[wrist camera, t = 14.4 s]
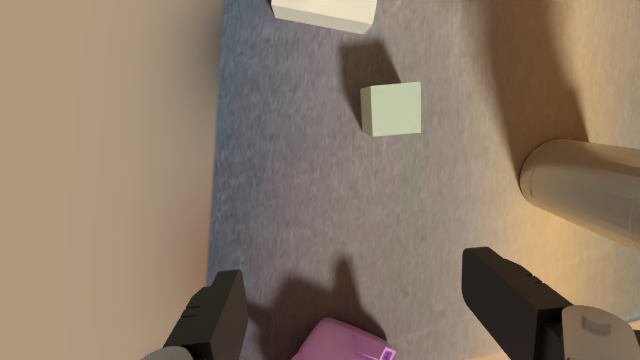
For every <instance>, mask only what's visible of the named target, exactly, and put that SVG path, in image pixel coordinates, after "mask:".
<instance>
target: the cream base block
mask: <svg viewBox="0 0 640 360" xmlns="http://www.w3.org/2000/svg"><path fill="white" fill-rule="evenodd" d="M376 3H377V0H272V2H271V6H272V9H273V12H274V15H275V18H280V19H285V20H291V21H296V22H301V23H307V24H312V25H317V26H322V27H328V28H333V29H338V30H344V31H349V32H354V33H359V34H364V33H365V32H366V31H367V30H368V29H369V28H370V27H371V26H372V24H373V20H374V14H375V9H376Z"/></svg>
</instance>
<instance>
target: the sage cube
mask: <svg viewBox="0 0 640 360" xmlns="http://www.w3.org/2000/svg"><path fill="white" fill-rule="evenodd" d="M360 96H361V115H362V132H364V133H366V134H368V135H370V136H373V137H374V136H385V135H396V134H407V133H418V132H421V95H420V82H412V83H401V84H389V85H377V86H369V87H365V88H361V89H360Z"/></svg>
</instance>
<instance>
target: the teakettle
mask: <svg viewBox="0 0 640 360" xmlns="http://www.w3.org/2000/svg"><path fill="white" fill-rule="evenodd" d="M395 353H396V350H395V349H393V348H391V346H390V345H389V344H388V343H387V342H386V341H385V340H383V339H381V338H380V337H378V336H375V335H373V334H371V333H369V332H367V331H364V330H362V329H360V328H357V327H355V326H352V325H350V324H347V323H344V322H342V321H339V320H336V319H333V318H329V317H325V318H323V319H322V320H320V321H319V322H318V324H317V325H316V326H315V327H314V329H313V330H312V331H311V333H310V334H309V335H308V337H307V338H306V340H305V341H304V343H303V344H302V346H301V347H300V349H299V351H298V353H297V354H296V355H295V356H294V357H293V358H292V359H291V360H397V358H396V356H395Z"/></svg>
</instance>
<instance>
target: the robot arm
mask: <svg viewBox="0 0 640 360" xmlns="http://www.w3.org/2000/svg"><path fill="white" fill-rule="evenodd" d="M520 187H521V191H522V193H523V195H524V197H525V198H526V199H527V200H528V201H529V202H530V203H531V204H533V205H534V206H536V207H538V208H541V209H543V210H545V211H547V212H550V213H552V214H554V215H556V216H558V217H561V218H563V219H565V220H567V221H570V222H572V223H574V224H576V225H579V226H581V227H583V228H585V229H588V230H590V231H592V232H594V233H597V234H599V235H601V236H603V237H606V238H608V239H610V240H612V241H615V242H617V243H619V244H621V245H624V246H626V247H628V248H630V249H633V250H635V251H637V252H640V149H634V148H627V147H619V146H612V145H605V144H597V143H591V142H583V141H576V140H568V139H555V140H551V141H548V142H546V143H544V144H542V145H540V146H539V147H537V148H536V149H535V150H533V152H532V153H531V154H530V155H529V156H528V157H527V159H526V161H525V162H524V164H523V167H522V169H521V174H520ZM462 294H463V298H464V301H465V303H466V304H467V306H468V307H469V308H470V310H471V311H472V312H473V313H474V315H475V316H476V317H477V318H478V320H479V321H480V322H481V323H482V325H483V326H484V327H485V328H486V330H487V331H488V332H489V333H490V334H491V336H492V337H493V338H494V339H495V341H496V342H497V343H498V344H499V346H500V347H501V348H502V349H503V351H504V352H505V353H506V354H507V356H508V357H509V358H510V359H511V360H640V330H633V329H632V328H631V326H630V325H629V324H627V323H626V322H625V321H624V320H622V319H621V318H619V317H617V316H616V315H614V314H611V313H609V312H607V311H604V310H601V309H598V308H594V307H590V306H583V305H573V304H572V303H570V302H569V301H568V300H566V299H565V298H564V297H562V296H561V295H560V294H558V293H557V292H556V291H554V290H553V289H552V288H550V287H549V286H548V285H546V284H545V283H542V281H541V280H540V279H538V278H537V277H536V276H533V275H532V273H530V272H529V271H528V270H526V269H525V268H524V267H522V266H521V265H519V264H516V263H514V262H512V261H509V260H507V259H503V258H502V257H501V256H499V255H498V254H497V253H496V252H494V251H493V250H492V249H490V248H489V247H476V248H466V249H465V250H464V251H463V257H462ZM247 323H248V308H247V302H246V295H245V288H244V282H243V275H242V272H241V270H240V269H239V270H228V271H219V272H218V273H217V275H216V277H215V279H214V281H213V283H212V285H211V287H203V288H202V289H201V290H199V291H198V292H197V293H196V294H195V295H194V296H192V298H191V299H190V301H189V303H188V305H187V306H186V309H185V310H184V312H183V313H182V315H181V318H180V319H179V320H178V322H177V324H176V325H175V327H174V329H173V330H172V332H171V334H170V336H169V337H168V339H167V341H166V343H165V344H164V346H163V348H161V349H159V350H156V351H154V352H152V353H150V354H149V355H147V356H145V357H144V358H143V359H141V360H239V356H240V352H241V348H242V345H243V341H244V337H245V333H246V329H247Z"/></svg>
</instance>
